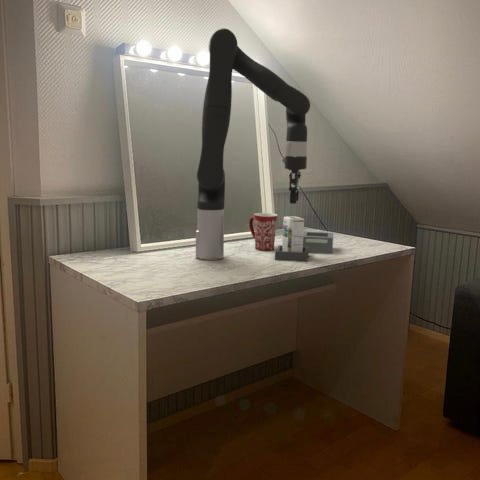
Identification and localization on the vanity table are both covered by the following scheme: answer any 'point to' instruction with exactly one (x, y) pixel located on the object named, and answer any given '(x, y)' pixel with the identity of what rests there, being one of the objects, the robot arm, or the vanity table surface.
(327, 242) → the port
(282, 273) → the vanity table surface
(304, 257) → the dark grey tray
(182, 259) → the vanity table surface
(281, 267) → the vanity table surface
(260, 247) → the mug
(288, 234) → the syrup box
